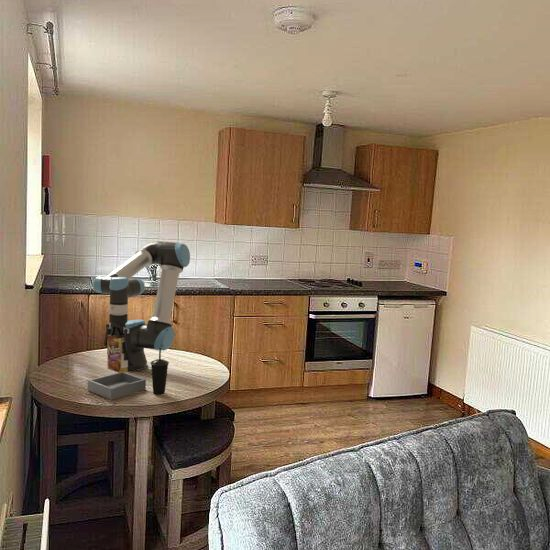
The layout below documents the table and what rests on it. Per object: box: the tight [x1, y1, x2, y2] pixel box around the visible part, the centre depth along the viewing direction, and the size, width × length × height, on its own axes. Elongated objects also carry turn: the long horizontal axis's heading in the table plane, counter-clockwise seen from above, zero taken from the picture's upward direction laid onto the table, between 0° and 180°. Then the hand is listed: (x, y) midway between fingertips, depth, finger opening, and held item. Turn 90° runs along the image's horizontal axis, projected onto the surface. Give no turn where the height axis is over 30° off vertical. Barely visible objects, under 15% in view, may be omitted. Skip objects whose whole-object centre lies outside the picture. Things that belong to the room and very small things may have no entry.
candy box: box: [107, 335, 128, 373], centre depth 230 cm, size 9×4×15 cm, turn 55°
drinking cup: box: [150, 348, 170, 396], centre depth 230 cm, size 8×8×20 cm
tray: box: [87, 372, 147, 401], centre depth 232 cm, size 16×18×4 cm
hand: (117, 365), depth 231 cm, fingers closed on candy box, 9 cm apart
